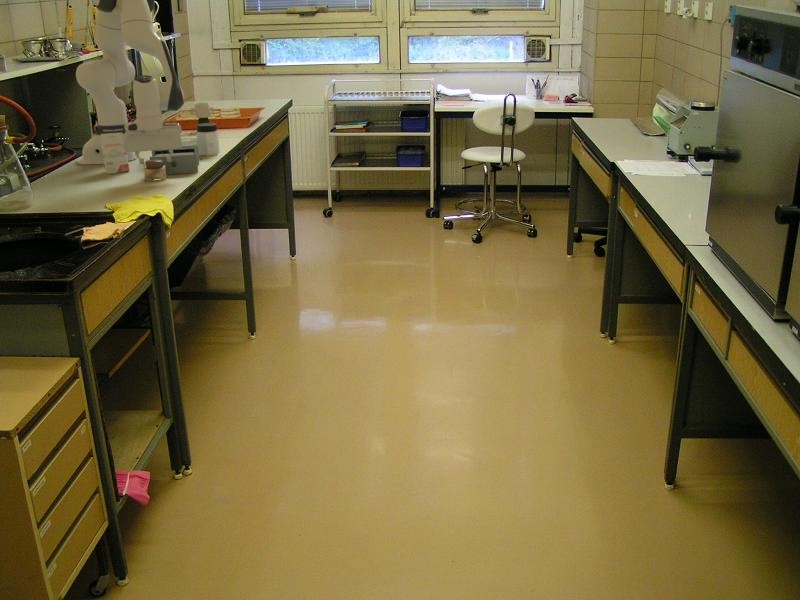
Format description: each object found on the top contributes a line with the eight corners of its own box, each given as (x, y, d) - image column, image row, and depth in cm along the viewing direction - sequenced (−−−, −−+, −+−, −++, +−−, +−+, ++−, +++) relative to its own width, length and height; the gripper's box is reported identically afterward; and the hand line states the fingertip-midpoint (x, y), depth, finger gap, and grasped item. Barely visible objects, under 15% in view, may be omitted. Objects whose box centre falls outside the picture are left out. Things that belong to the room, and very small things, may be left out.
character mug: (217, 129, 410) (214, 102, 405) (214, 132, 403) (212, 104, 399) (194, 130, 410) (191, 102, 405) (191, 132, 403) (188, 104, 398)
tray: (151, 175, 311) (149, 157, 309) (154, 166, 327) (152, 149, 325) (198, 172, 314) (196, 154, 312) (198, 163, 330) (196, 146, 328)
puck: (145, 169, 303) (144, 163, 302) (146, 166, 308) (145, 159, 308) (162, 168, 304) (162, 161, 303) (163, 165, 310) (162, 158, 309)
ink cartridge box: (129, 169, 325) (124, 130, 320) (129, 171, 320) (123, 132, 315) (105, 171, 323) (100, 132, 318) (105, 173, 318) (99, 134, 313)
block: (145, 181, 304) (144, 170, 302) (146, 177, 310) (145, 166, 309) (165, 179, 305) (164, 168, 304) (166, 175, 312) (165, 165, 310)
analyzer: (153, 167, 327) (151, 147, 324) (155, 159, 341) (153, 140, 339) (199, 164, 330) (197, 144, 327) (199, 157, 344) (197, 137, 342)
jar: (202, 156, 345) (199, 126, 341) (195, 153, 352) (192, 124, 347) (223, 154, 350) (220, 124, 346) (216, 151, 356) (213, 122, 352)
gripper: (180, 120, 306) (185, 159, 311) (121, 124, 302) (127, 163, 307) (180, 123, 300) (185, 162, 305) (119, 126, 296) (125, 166, 301)
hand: (155, 162), depth 306 cm, fingers open, 8 cm apart
